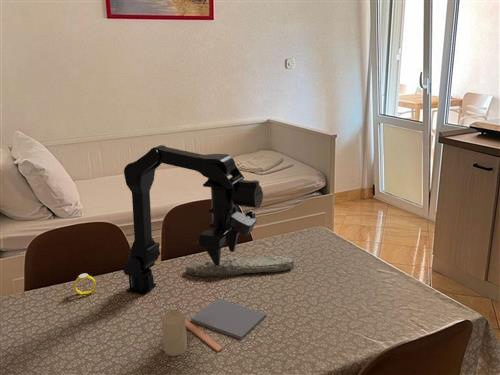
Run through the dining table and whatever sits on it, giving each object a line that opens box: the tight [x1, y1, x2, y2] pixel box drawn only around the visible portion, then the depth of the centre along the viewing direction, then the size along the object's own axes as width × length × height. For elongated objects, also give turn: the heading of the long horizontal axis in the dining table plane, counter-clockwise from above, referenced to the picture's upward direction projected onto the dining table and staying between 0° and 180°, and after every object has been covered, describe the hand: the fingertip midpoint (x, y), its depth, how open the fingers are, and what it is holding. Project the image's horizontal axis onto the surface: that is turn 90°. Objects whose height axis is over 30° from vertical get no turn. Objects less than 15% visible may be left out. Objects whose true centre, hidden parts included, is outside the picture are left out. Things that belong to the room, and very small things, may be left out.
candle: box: [160, 308, 188, 357], centre depth 113 cm, size 6×6×10 cm
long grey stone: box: [185, 255, 295, 278], centre depth 154 cm, size 35×5×10 cm
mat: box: [190, 298, 267, 340], centre depth 127 cm, size 16×12×1 cm
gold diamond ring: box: [73, 272, 97, 296], centre depth 141 cm, size 6×3×6 cm, turn 105°
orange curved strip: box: [185, 318, 224, 353], centre depth 120 cm, size 18×2×1 cm, turn 40°
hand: (224, 258), depth 128 cm, fingers open, 9 cm apart
